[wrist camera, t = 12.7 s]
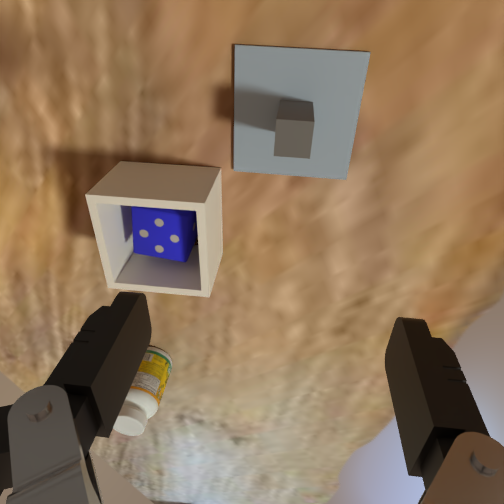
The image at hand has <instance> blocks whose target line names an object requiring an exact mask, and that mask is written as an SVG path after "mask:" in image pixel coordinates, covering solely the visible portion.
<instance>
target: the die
mask: <svg viewBox="0 0 504 504" xmlns="http://www.w3.org/2000/svg"><path fill="white" fill-rule="evenodd" d="M131 213H132V232H133V252H134V253H136V254H141V255H147V256H153V257H158V258H164V259H169V260H175V261H181V262H187V260H188V258H189V255H190V253H191V251H192V248H193V246H194V244H195V241H196V239H197V237H198V230H197V215H196V211H191V210H178V209H165V208H152V207H139V206H132V207H131Z"/></svg>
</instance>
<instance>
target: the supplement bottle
mask: <svg viewBox="0 0 504 504" xmlns="http://www.w3.org/2000/svg"><path fill="white" fill-rule="evenodd" d="M171 369H172V360H171V358H170V356H169V355H168V354H167V353H166V352H164V351H163V350H161V349H159V348H156V347H148V348H147V351H146V353H145V355H144V357H143V360H142V362H141V364H140V367H139V369H138V371H137V374H136V376H135V378H134V380H133V383H132V385H131V387H130V390H129V392H128V394H127V397H126V399H125V401H124V403H123V406H122V408H121V410H120V413H119V415H118V417H117V420H116V422H115V424H114V427H113V429H115V430H116V431H118V432H119V433H122V434H125V435H129V436H137V435H140V434H142V433H143V431H144V429H145V427H146V424H147V419H149V418H151V417H152V416H153V415H154V414H155V413H156V411H157V409H158V406H159V404H160V401H161V398H162V395H163V392H164V389H165V386H166V383H167V380H168V377H169V375H170V372H171Z"/></svg>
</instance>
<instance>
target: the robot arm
mask: <svg viewBox="0 0 504 504" xmlns="http://www.w3.org/2000/svg"><path fill="white" fill-rule="evenodd" d="M150 339H151V322H150V316H149V311H148V305H147V300H146V296H145V294H143V293H133V292H119V293H118V295H117V296H116V298H115V299H114V301H113V303H112V304H111V306H102V307H100V308H99V309H98V310H97V311H95V312H94V313H93V314H91V315H90V316H89V317H88V319H87V320H86V322H85V323H84V325H83V326H82V328H81V331H80V332H78V334H77V335H76V337H75V338H74V342H73V343H71V345H70V346H69V348H68V349H67V351H66V352H65V354H64V355H63V357H62V358H61V360H60V361H59V363H58V364H57V366H56V367H55V369H54V370H53V372H52V374H51V375H50V377H49V378H48V380H47V381H46V382H45V384H44V385H43V386H40V387H37V388H34V389H32V390H30V391H28V392H26V393H25V394H24V395H22V396H21V397H20V398H19V399H18V400H17V401H16V402H15V403H14V404H12V405H8V406H3V407H0V495H1V494H2V492H3V490H4V489H7V488H12V487H13V492H12V494H10V495H9V496H8V497H7V500H6V504H104V503H103V499H102V495H101V491H100V487H99V483H98V479H97V475H96V471H95V467H94V463H93V459H92V455H91V451H90V447H91V445H92V443H93V441H94V438H95V436H99V437H107V438H109V436H110V433H111V431H112V429H113V427H114V424H115V422H116V420H117V417H118V415H119V413H120V410H121V408H122V406H123V403H124V401H125V399H126V397H127V394H128V392H129V390H130V387H131V385H132V383H133V380H134V378H135V376H136V374H137V371H138V369H139V367H140V364H141V362H142V360H143V357H144V355H145V353H146V351H147V348H148V346H149V343H150ZM385 370H386V374H387V379H388V384H389V388H390V393H391V397H392V402H393V407H394V411H395V416H396V420H397V425H398V429H399V434H400V438H401V443H402V447H403V452H404V457H405V461H406V466H407V471H408V475H409V476H418V477H422V478H423V481H424V486H425V491H424V493H423V495H422V497H421V498H420V500H419V502H418V504H504V447H503V446H502V445H501V444H500V443H499V442H497V441H496V440H494V439H493V438H491V437H490V435H489V433H488V431H487V429H486V426H485V424H484V422H483V419H482V417H481V414H480V412H479V410H478V407H477V405H476V402H475V400H474V398H473V395H472V393H471V390H470V388H469V386H468V384H466V378H465V376H464V374H463V372H462V371H461V367H460V364H459V362H458V359H457V357H456V355H455V353H454V351H453V350H452V349H451V348H450V347H449V346H448V345H447V344H446V342H445V341H444V340H443V339H442V338H434V337H431V334H430V331H429V329H428V326H427V323H426V322H425V320H423V319H414V318H403V317H398V318H397V319H396V321H395V324H394V327H393V330H392V333H391V336H390V339H389V343H388V346H387V349H386V353H385Z"/></svg>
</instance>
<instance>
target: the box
mask: <svg viewBox="0 0 504 504" xmlns="http://www.w3.org/2000/svg"><path fill="white" fill-rule="evenodd" d="M85 196H86V200H87V204H88V208H89V212H90V216H91V220H92V224H93V228H94V232H95V236H96V241H97V245H98V249H99V253H100V257H101V261H102V265H103V269H104V273H105V277H106V281H107V285H108V288H115V289H126V290H137V291H148V292H158V293H169V294H180V295H191V296H201V297H210V294H211V291H212V287H213V284H214V281H215V277H216V274H217V271H218V268H219V264H220V261H221V258H222V254H223V235H222V189H221V168H216V167H201V166H186V165H172V164H157V163H142V162H127V161H120V162H119V163H118V164H117V165H116V166H115V167H114V168H113V169H112V170H111V171H109V172H108V173H107V174H106V175H105V176H104V177H103V178H102V179H101V180H100V181H99V182H98V183H97V184H96V185H95V186H94V187H93V188H91V189H90V190H89V191H88V192H87V193H86V194H85ZM132 206H139V207H152V208H165V209H178V210H191V211H196V215H197V230H198V245H194V246H193V248H192V251H191V253H190V255H189V258H188V260H187V262H181V261H175V260H169V259H164V258H158V257H153V256H147V255H141V254H136V253H134V252H133V232H132V213H131V207H132Z"/></svg>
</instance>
